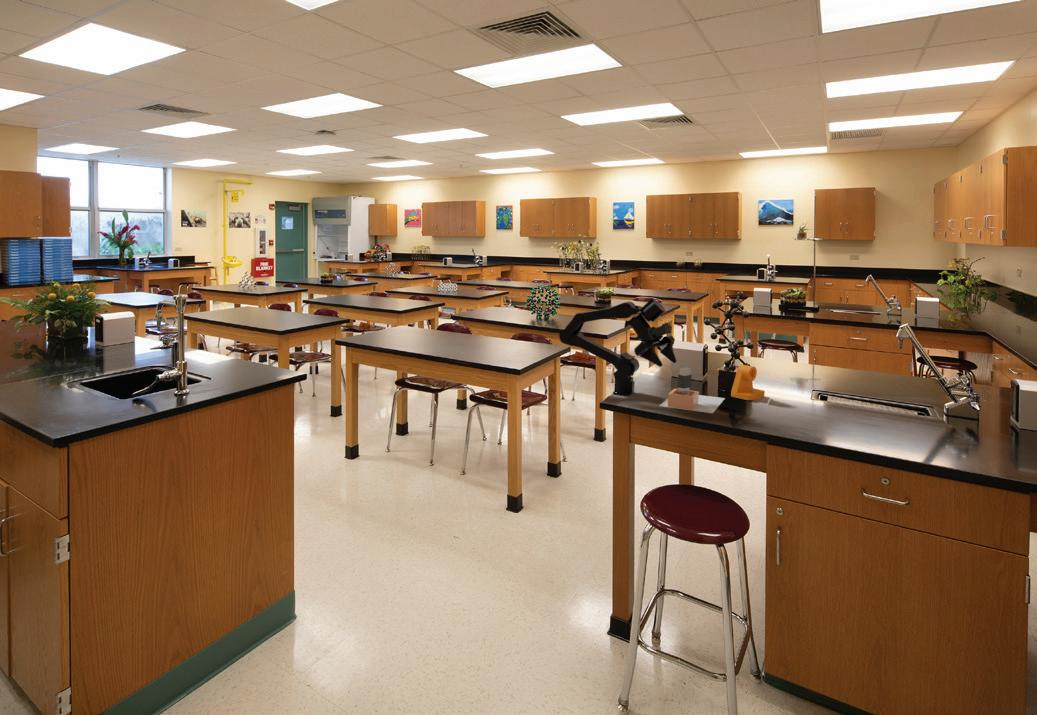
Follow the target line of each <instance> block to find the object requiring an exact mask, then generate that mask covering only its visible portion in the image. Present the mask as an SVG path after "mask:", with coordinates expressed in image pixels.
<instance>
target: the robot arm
mask: <svg viewBox="0 0 1037 715" xmlns="http://www.w3.org/2000/svg"><path fill="white" fill-rule="evenodd" d="M664 313H666V309H665V307H664V306H663V305H662V304H661V303H660V302H659V301H657V300H656V299H655V298H654V297H651V298H650V299H649V300H648V301H647V303H645V304H644V305H643V306H641V305H636V304H635V303H634V302H633V301H624V302H621V303H619V304H616V305H613V306H611V307H607V308H601V309H595V310H591V311H584V312H583V311H581V312H577V313H575V314H574V316H573V318H572V319H571V320H570V321H569V323H568V324H566V326H565V328H564V329H562V330H561V331H560V332H559V341H560V342H561V343H562V344H564V345H568V346H571V347H576V348H580V349H583V350H584V351H585V352H588V353H589V354H591V355H594V356H595V357H598V358H600V359H602V360H603V361H605V362H608V363H610V364H611V365H612V366H613V367H614V368H615V369H616V370H615V372H613V377H614V389H613V390H614V391H613V392H612V394H613V393H615V392H617V393H615V394H614V395H621V396H627V395H629V396H631V395H632V394H634V393H635V381H634V375H635V373H636V372H637V371H639V369H640V362H639V360H638V359H637V358H635V357H640V358H642V359H644V360H647V361H649V362H651V364H654V365H656V366H658V367H660V368H661V367H663V362H662V361H661V359H660V357H659V356H658V354H657V353H656V349H657V350H658V351H659V353H660V354H661V355H662V356H664V357H665V358H667V359H668V360H669V361H671V362H672V363H673V364H675V363H677V359H676V356H675V355H676V354H675V353H674V349H673V347H674V344H675V341H676V339H675V337H674V336H673V335H669V334H671V333H672V329H673V327H672V326H671V324H670V323H668V322H665V323H662V324H661V325H660V326H657V327H656V326H651V325H650V324H649V323H650V322H652V323H653V322H655V321H657V320H658V319H659V318H660V317H661V316H662V315H663V314H664ZM637 314H638V315H637ZM628 318H630V319H629V320H625V322H624V326H623V327H624V328H625V329H632V330H633V331H634V333H635V334H636V335H637V337H636V339H637V341H641V342H640V343H639V344H637V346H635V348H634V349H633V350H634V354H635V355H636V356H635V355H631V354H630V353H628V352H627V351H624V352H623V353H617V352H615V351H613V350H611V349H610V348H607V347H605V346H604V345H601V344H599V343H597V342H596V341H594V340H592V339H589V338H588V337H586V336H585V335H584V334H583V333H582V332H581V330H582V329H583V326H584V325H585V323H587V322H592V321H593V322H594V321H599V320H603V319H604V320H606V319H628ZM633 392H634V393H633ZM630 394H631V395H630Z"/></svg>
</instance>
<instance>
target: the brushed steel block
mask: <svg viewBox="0 0 1037 715" xmlns="http://www.w3.org/2000/svg"><path fill="white" fill-rule="evenodd" d="M678 371H679V373H678V376H677V389H678V394H680V395H688V396H689V393H690V390H691V387H692V378H693V377H692V376H693V375H692V368H690V367H686V366H684V367H680V368H679V370H678Z"/></svg>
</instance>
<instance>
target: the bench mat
mask: <svg viewBox="0 0 1037 715" xmlns="http://www.w3.org/2000/svg"><path fill="white" fill-rule="evenodd" d="M724 400H726V398H725V397H719V396H709V395H701V394H699V399H698V405H697V406H696V407H695V408H694V409H693V410H690V409H683V408H675V407H668V398H666V399H665V400H664V401H663V402H662V403H660V404H659V405H658V406H659V407H664V408H672V409H679V410H685V411H687V410H688V411H693V412H698V413H699V412H701V413H706V414H707V413H708V414H714V412H715V411H716V410H717V409H718V408H719V406H720V405H721V404H722V403H723V401H724Z"/></svg>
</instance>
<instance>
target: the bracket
mask: <svg viewBox="0 0 1037 715" xmlns="http://www.w3.org/2000/svg"><path fill="white" fill-rule="evenodd" d="M736 369H737V370H736V373H735V377H734V381H733V383H732V387H731V391H730V397H732V398H737V399H741V400H745V401H755V400H759V399H762V397H765V393H766V392H765V390H763V389H758V388H754V384H753V382H754V381H755V379H756V377H757V373H758V372H757V370H758V369H757V367H755V366H753V365H746V364H740V365H739V366H738V367H737V368H736Z"/></svg>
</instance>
